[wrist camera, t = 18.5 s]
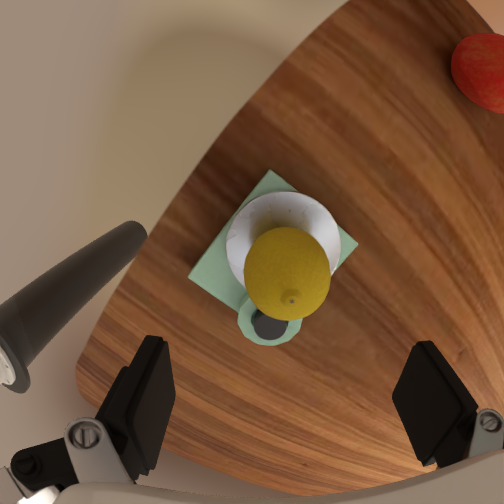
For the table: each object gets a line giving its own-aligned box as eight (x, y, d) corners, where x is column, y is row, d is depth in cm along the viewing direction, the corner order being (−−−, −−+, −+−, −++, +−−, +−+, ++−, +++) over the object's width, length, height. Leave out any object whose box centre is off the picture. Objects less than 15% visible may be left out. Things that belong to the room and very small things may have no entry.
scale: (273, 333, 30) (274, 354, 27) (187, 275, 28) (177, 291, 25) (358, 243, 26) (370, 256, 23) (269, 168, 24) (270, 171, 21)
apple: (483, 128, 21) (553, 132, 11) (430, 83, 21) (499, 64, 10) (495, 74, 19) (558, 65, 9) (445, 30, 18) (504, 1, 8)
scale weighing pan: (226, 293, 25) (225, 298, 24) (228, 186, 22) (227, 188, 21) (330, 298, 24) (332, 303, 24) (345, 195, 21) (348, 196, 21)
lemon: (332, 240, 22) (363, 285, 14) (292, 294, 24) (303, 357, 16) (271, 201, 21) (276, 230, 14) (233, 261, 23) (219, 316, 15)
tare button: (271, 335, 26) (272, 345, 25) (248, 320, 26) (247, 329, 24) (291, 315, 26) (293, 325, 24) (267, 299, 25) (268, 308, 24)
